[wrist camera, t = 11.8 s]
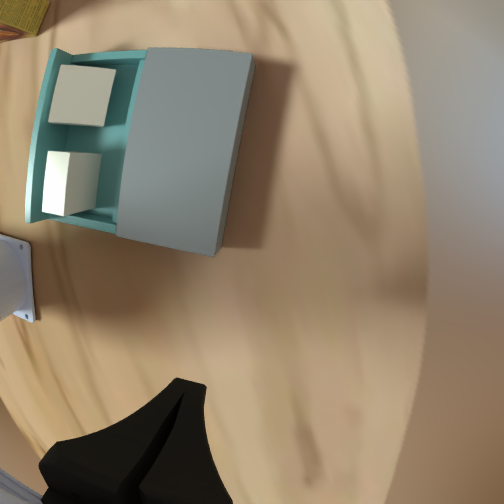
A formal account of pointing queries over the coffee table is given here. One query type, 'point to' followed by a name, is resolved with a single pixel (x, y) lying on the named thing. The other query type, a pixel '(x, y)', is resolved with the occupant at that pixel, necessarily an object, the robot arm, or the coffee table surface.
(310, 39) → the coffee table surface
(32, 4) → the candy box
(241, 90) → the grey flat block
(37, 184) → the box
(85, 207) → the tile
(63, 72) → the tile
